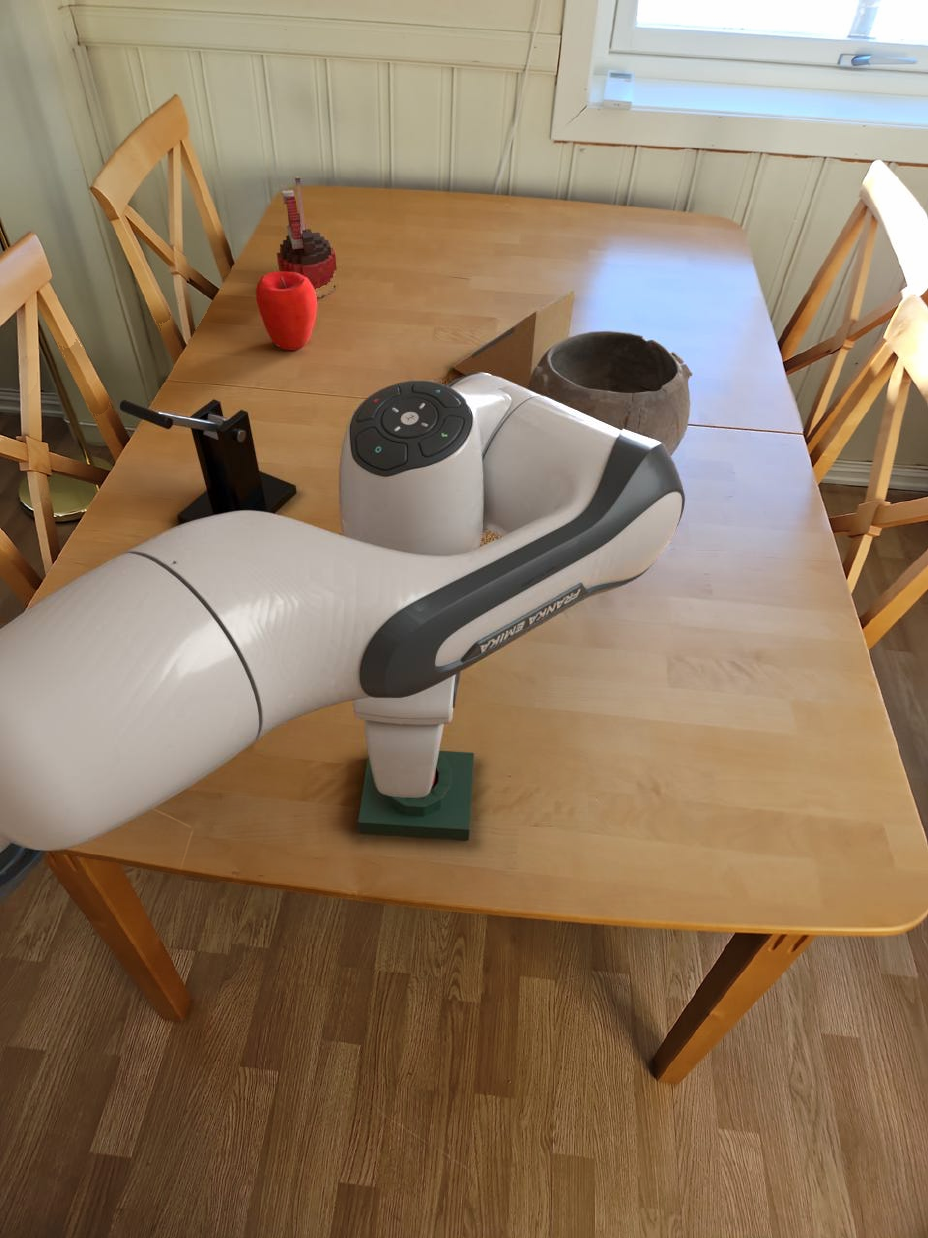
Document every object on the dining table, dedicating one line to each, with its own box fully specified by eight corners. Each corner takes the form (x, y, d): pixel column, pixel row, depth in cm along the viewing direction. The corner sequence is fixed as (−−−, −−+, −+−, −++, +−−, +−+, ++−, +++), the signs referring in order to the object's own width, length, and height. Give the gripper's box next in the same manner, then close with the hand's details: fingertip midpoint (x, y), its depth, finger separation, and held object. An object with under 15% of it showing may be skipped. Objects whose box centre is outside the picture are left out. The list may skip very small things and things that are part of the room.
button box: (359, 833, 74) (356, 812, 71) (370, 758, 80) (368, 735, 77) (468, 841, 74) (470, 820, 71) (473, 764, 80) (475, 742, 77)
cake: (342, 300, 139) (333, 187, 125) (287, 306, 137) (271, 193, 123) (331, 271, 145) (321, 161, 132) (278, 276, 143) (262, 166, 130)
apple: (326, 331, 132) (319, 265, 124) (313, 360, 126) (305, 293, 118) (271, 327, 132) (261, 260, 124) (257, 355, 126) (245, 288, 118)
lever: (162, 434, 82) (167, 410, 81) (116, 416, 84) (122, 392, 83) (246, 447, 95) (251, 427, 94) (205, 431, 97) (211, 411, 96)
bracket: (236, 548, 98) (214, 455, 88) (178, 523, 101) (150, 429, 91) (296, 493, 105) (282, 400, 95) (241, 470, 108) (221, 378, 98)
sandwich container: (487, 346, 130) (492, 252, 119) (563, 385, 124) (576, 289, 113) (450, 367, 126) (452, 271, 115) (526, 408, 119) (536, 311, 108)
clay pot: (495, 478, 109) (503, 379, 97) (551, 398, 121) (564, 302, 110) (649, 527, 103) (676, 428, 92) (690, 438, 116) (719, 341, 105)
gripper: (387, 508, 64) (393, 624, 74) (348, 726, 51) (362, 831, 61) (467, 513, 64) (462, 628, 74) (450, 733, 50) (447, 836, 61)
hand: (417, 721), depth 68 cm, fingers closed
